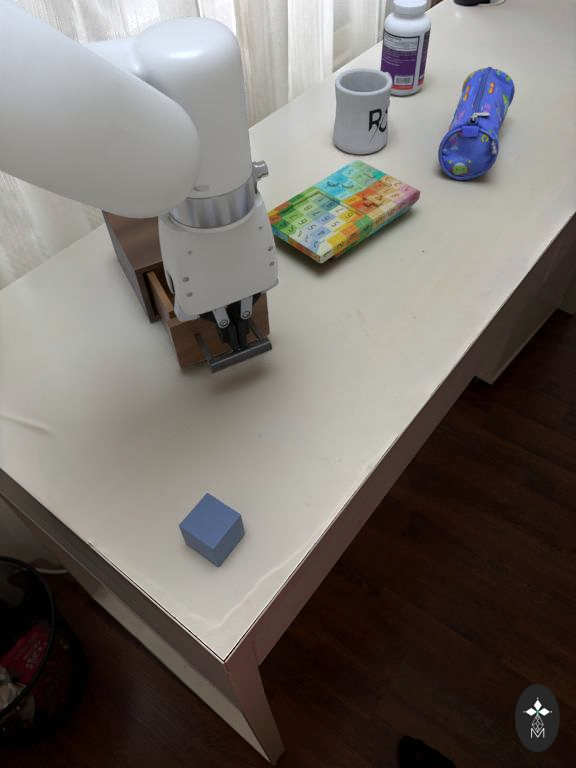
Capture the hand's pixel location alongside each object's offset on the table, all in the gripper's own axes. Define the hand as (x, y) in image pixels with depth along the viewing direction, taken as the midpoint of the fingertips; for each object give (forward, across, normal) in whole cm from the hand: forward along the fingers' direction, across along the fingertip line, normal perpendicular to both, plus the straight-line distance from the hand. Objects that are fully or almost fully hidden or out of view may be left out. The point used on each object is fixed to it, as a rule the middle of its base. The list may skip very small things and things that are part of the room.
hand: (234, 340), depth 63 cm
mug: (+6, -40, -37) cm, 55 cm away
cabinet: (+6, 0, -20) cm, 21 cm away
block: (+6, +10, +17) cm, 21 cm away
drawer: (+5, 0, -7) cm, 9 cm away
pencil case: (+7, -53, -26) cm, 59 cm away
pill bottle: (+7, -55, -49) cm, 74 cm away
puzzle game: (+6, -24, -18) cm, 31 cm away
